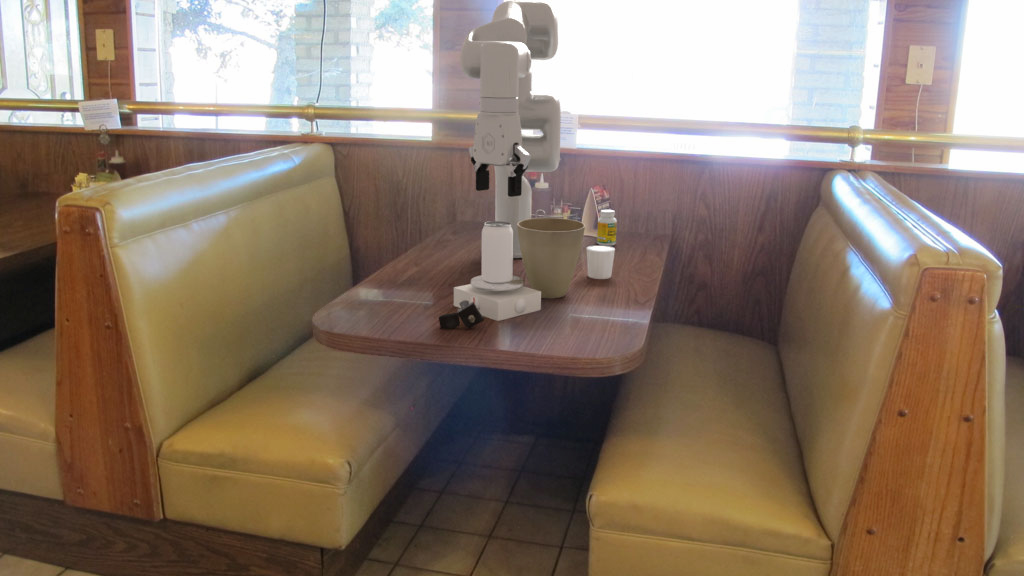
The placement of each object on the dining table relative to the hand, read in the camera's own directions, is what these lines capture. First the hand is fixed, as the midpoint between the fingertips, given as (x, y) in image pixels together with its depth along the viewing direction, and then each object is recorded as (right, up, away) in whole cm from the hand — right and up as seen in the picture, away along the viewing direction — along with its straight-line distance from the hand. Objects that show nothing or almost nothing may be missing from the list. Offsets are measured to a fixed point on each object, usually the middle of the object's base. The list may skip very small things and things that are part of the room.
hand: (498, 193), depth 171 cm
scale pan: (0, -19, +5) cm, 20 cm away
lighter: (-7, -27, -7) cm, 29 cm away
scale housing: (0, -23, +6) cm, 24 cm away
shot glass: (+24, -17, +34) cm, 45 cm away
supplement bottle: (+30, -7, +69) cm, 75 cm away
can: (0, -18, +5) cm, 19 cm away
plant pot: (+11, -21, +17) cm, 29 cm away
